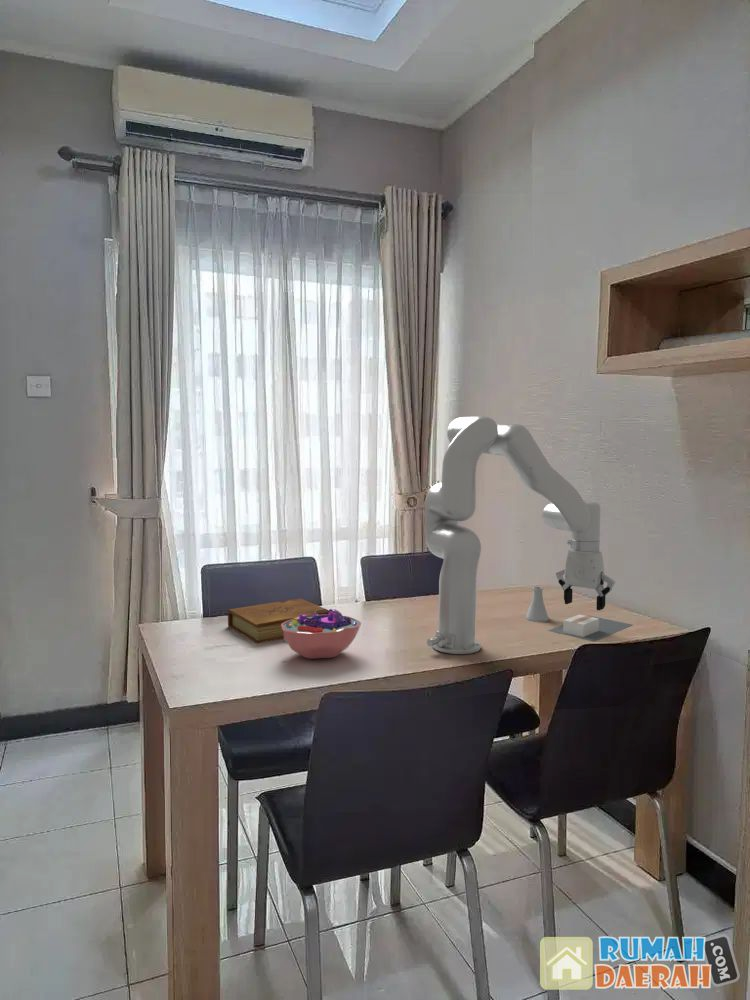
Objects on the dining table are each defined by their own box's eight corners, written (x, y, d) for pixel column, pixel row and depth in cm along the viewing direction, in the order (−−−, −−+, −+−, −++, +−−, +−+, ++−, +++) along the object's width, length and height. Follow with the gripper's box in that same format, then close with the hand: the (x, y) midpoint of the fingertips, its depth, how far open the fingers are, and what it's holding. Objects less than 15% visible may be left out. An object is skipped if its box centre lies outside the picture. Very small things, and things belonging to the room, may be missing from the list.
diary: (299, 616, 207) (299, 597, 207) (331, 631, 192) (331, 611, 192) (227, 627, 194) (227, 608, 194) (256, 644, 179) (256, 623, 179)
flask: (547, 617, 209) (548, 585, 208) (550, 624, 202) (552, 590, 201) (523, 616, 209) (524, 584, 209) (525, 623, 202) (527, 589, 201)
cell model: (272, 650, 174) (272, 606, 173) (345, 641, 182) (346, 599, 181) (291, 671, 158) (291, 623, 157) (371, 661, 166) (371, 615, 165)
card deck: (583, 637, 187) (583, 624, 187) (563, 632, 191) (563, 619, 191) (598, 630, 193) (599, 618, 193) (579, 626, 197) (579, 614, 197)
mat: (594, 643, 183) (594, 641, 183) (547, 632, 193) (547, 630, 193) (633, 626, 200) (633, 624, 200) (588, 617, 210) (588, 615, 210)
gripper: (550, 544, 193) (549, 603, 195) (608, 551, 181) (607, 614, 183) (564, 541, 199) (563, 598, 200) (621, 547, 186) (619, 609, 188)
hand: (584, 606), depth 192 cm, fingers open, 9 cm apart
